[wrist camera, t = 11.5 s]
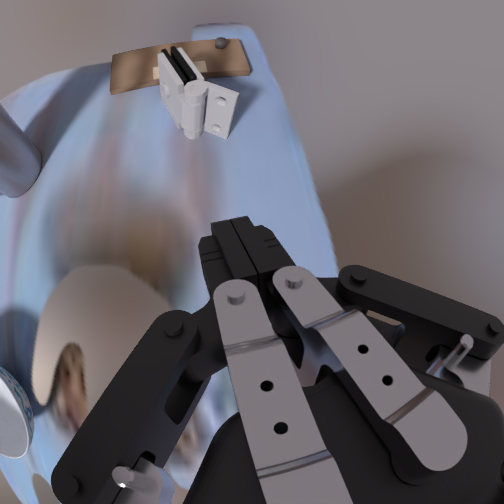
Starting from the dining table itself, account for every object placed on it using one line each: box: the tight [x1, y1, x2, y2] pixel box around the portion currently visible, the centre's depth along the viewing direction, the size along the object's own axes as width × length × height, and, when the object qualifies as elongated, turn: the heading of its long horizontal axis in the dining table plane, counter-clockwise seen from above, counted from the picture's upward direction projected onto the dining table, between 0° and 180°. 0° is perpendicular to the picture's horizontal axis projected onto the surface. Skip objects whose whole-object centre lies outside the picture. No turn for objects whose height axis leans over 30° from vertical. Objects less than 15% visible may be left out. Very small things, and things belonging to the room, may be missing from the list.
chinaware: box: [0, 366, 34, 458], centre depth 22 cm, size 15×15×8 cm
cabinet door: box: [110, 37, 250, 95], centre depth 38 cm, size 24×10×3 cm, turn 103°
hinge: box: [158, 46, 239, 139], centre depth 34 cm, size 14×5×10 cm, turn 43°
